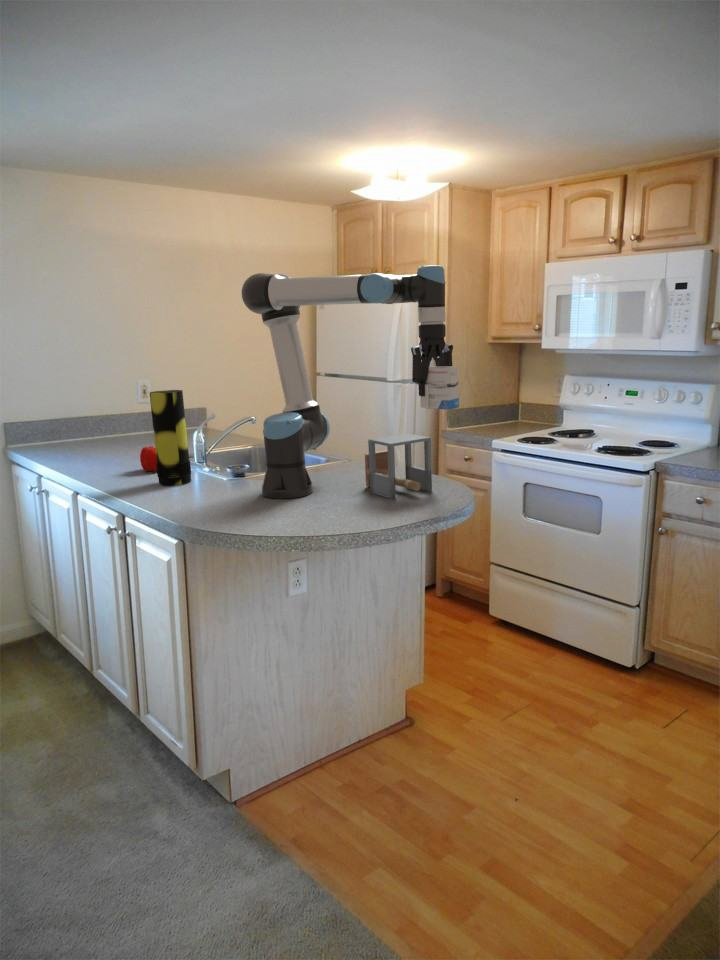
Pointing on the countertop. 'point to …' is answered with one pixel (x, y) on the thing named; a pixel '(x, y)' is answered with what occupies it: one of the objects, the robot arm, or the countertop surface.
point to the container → (170, 437)
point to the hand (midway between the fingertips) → (433, 406)
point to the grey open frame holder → (387, 483)
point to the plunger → (383, 469)
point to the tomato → (148, 459)
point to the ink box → (443, 387)
